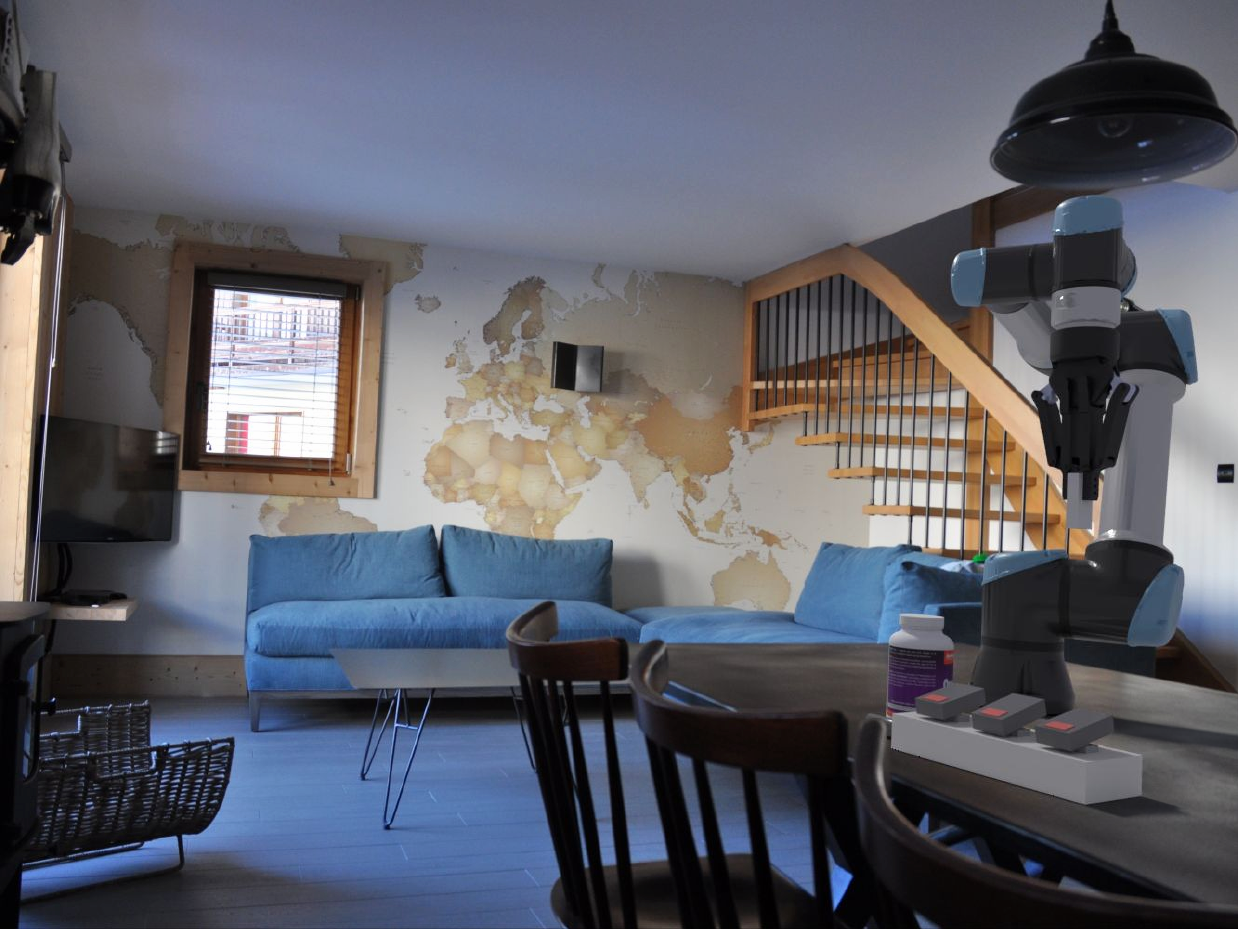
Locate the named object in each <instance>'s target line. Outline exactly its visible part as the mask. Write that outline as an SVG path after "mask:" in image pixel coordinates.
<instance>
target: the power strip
mask: <svg viewBox="0 0 1238 929" xmlns="http://www.w3.org/2000/svg"><path fill="white" fill-rule="evenodd" d="M870 718H881V719H883V720H884V721H886V723H887V728H888V731H887V732H889V733H891V737H890V738H891V739H890V742H891V743H890V749H892V748H893V750H895V749H896V751H898V750H899V752H903V753H906V754H909V755H912V756H916V757H919V756H920V758H923V759H926V760H930V761H934V762H936V763H941V764H944V765H947V766H951V767H953V768H954V767H955V768H957V769H961V770H965V771H968V772H971V773H975V774H978V775H981V776H985V777H989V778H992V779H996V780H999V781H1002V782H1005V783H1009V784H1012V785H1016V786H1019V787H1023V788H1026V789H1030V790H1033V791H1037V792H1040V793H1044V794H1046V795H1050V796H1053V795H1054V796H1053V797H1057V798H1061V799H1064V800H1067V801H1071V802H1075V803H1078V804H1080V805H1084V806H1086V805H1091V804H1097V803H1098V804H1099V803H1105V802H1110V801H1116V800H1125V799H1128V798H1129V799H1130V798H1137V797H1141V796H1142V791H1143V785H1142V784H1143V759H1144V758H1143V756H1144V755H1143V754H1139V753H1135V752H1131V751H1127V750H1122V749H1117V748H1113V747H1108V746H1104V745H1101V744H1097V743H1094V742H1091V743H1089V744H1087V745H1085V746H1082V747H1080V748H1078V749H1076V750H1073V751H1068V750H1064V749H1060V748H1055V747H1051V746H1047V745H1043V744H1039V743H1036V734H1035V729H1032V728H1028V727H1025V726H1024V727H1022V728H1020V729H1018V730H1016V731H1014V732H1012V733H1010V734H1008V735H1006V736H1001V735H997V734H993V733H989V732H985V731H980V730H976V729H973V723H972V716H971V714H967V713H965V712H964V713H961V714H958V715H956V716H953V717H951V718H948V719H946V720H941V719H937V718H933V717H929V716H925V715H921V714H917V713H916V712H904V713H892V719H891V718H887V717H886V716H883V715H879V714H875V713H872V712H871V713H868V714H866V716H865V719H870Z"/></svg>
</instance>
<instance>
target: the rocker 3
mask: <svg viewBox="0 0 1238 929" xmlns="http://www.w3.org/2000/svg"><path fill="white" fill-rule="evenodd" d="M1034 730H1035V734H1036V743H1039V744H1043V745H1047V746H1051V747H1055V748H1060V749H1064V750H1068V751H1073V750H1076V749H1078V748H1080V747H1082V746H1085V745H1087V744H1089V743H1094V742H1096V741H1098V740H1100V739H1102V738H1104V737H1107V736H1109V735H1111V734H1114V733H1115V723H1114V715H1113V713H1112V714H1111V713H1107V712H1103V711H1102V712H1101V711H1097V710H1092V709H1087V708H1082V707H1075V709H1073V710H1071V711H1068V712H1066V713H1063V714H1058V715H1056V716H1054V717H1052V718H1050V719H1046V720H1045V721H1042V722H1040V723H1037V724H1036V725H1035V724H1034Z"/></svg>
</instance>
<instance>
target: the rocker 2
mask: <svg viewBox="0 0 1238 929" xmlns="http://www.w3.org/2000/svg"><path fill="white" fill-rule="evenodd" d="M970 715H971V716H972V723H973V729H976V730H980V731H985V732H989V733H993V734H997V735H1001V736H1006V735H1008V734H1010V733H1012V732H1014V731H1016V730H1018V729H1020V728H1022V727H1024V728H1025V727H1026V726H1028V725H1029V724H1032V723H1034V722H1036V721H1038V720H1040V719H1042V718H1043V717H1046V716H1047V714H1046V709H1045V702H1044V699H1040V698H1035V697H1030V696H1026V695H1021V694H1016V693H1012V694H1010V695H1008V696H1006V697H1003V698H1001V699H999V700H997V701H995V702H993V703H991V704H989V705H986V706H981V707H979V708H978V709H976V710H974V711H972V712H970Z"/></svg>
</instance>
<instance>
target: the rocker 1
mask: <svg viewBox="0 0 1238 929" xmlns="http://www.w3.org/2000/svg"><path fill="white" fill-rule="evenodd" d="M915 704H916V713H917V714H921V715H925V716H929V717H933V718H937V719H941V720H946V719H948V718H951V717H953V716H956V715H958V714H961V713H964V714H965V713H966V712H969V711H972V710H973V709H976V708H978V707H979V708H980V707H983V706H982V705H984V704H986V700H985V691H984V688H979V687H975V686H970V685H968V684H966V683H965V684H963V683H960V682H959V683H958V682H955V683H953V684H952V685H949V686H946V687H944V688H941V689H938V690H935V691H933V692H930V693H927V694H925V695H922V696H919V697H916V698H915Z"/></svg>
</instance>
